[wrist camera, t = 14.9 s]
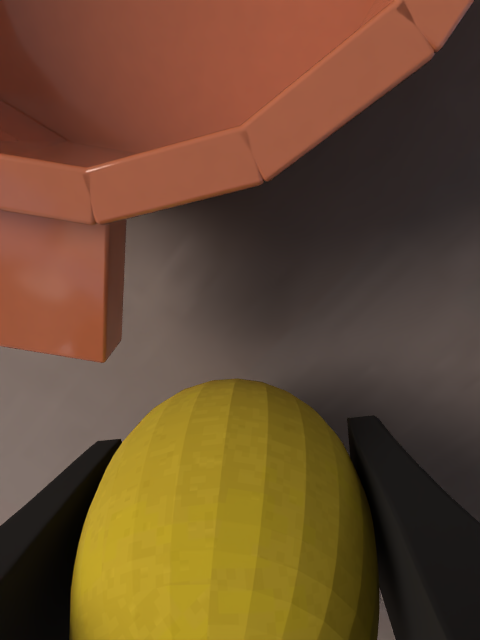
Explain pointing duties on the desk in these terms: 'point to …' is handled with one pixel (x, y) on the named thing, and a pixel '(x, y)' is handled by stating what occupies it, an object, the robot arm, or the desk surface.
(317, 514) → the lemon
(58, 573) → the robot arm
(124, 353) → the desk surface
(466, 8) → the pot
